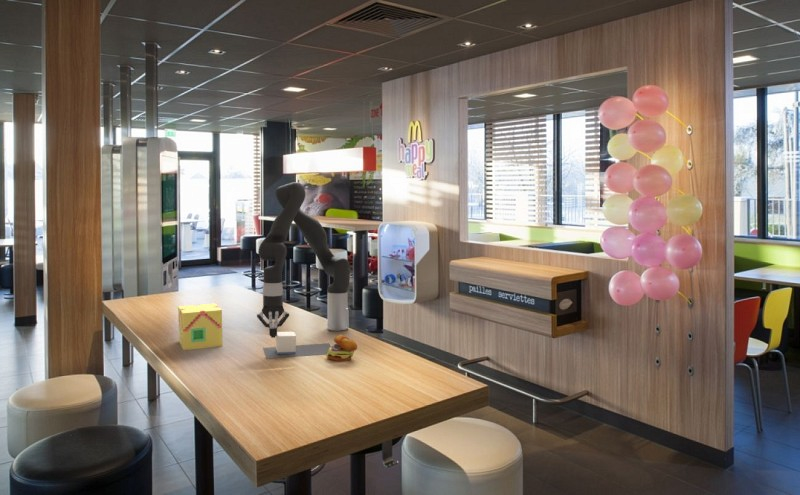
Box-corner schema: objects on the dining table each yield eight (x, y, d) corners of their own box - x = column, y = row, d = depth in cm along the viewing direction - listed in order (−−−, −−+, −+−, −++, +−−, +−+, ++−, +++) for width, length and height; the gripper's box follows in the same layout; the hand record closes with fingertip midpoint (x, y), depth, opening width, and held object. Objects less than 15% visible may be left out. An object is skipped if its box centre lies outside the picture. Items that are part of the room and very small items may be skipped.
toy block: (183, 350, 232) (182, 313, 230) (179, 341, 245) (178, 306, 243) (222, 345, 239) (221, 310, 237) (215, 337, 252) (215, 303, 250)
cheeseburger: (326, 354, 227) (332, 330, 227) (352, 360, 228) (358, 336, 228) (325, 361, 217) (331, 336, 217) (352, 368, 218) (359, 342, 218)
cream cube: (293, 348, 234) (293, 331, 234) (295, 353, 228) (296, 335, 227) (275, 349, 232) (276, 332, 231) (277, 354, 225) (278, 336, 225)
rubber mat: (328, 343, 243) (328, 343, 243) (336, 354, 228) (336, 353, 228) (262, 348, 235) (262, 347, 235) (266, 359, 220) (266, 359, 220)
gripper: (288, 291, 232) (288, 333, 234) (254, 292, 228) (255, 335, 229) (291, 294, 225) (291, 338, 226) (256, 296, 221) (256, 340, 222)
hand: (273, 337), depth 228 cm, fingers closed
